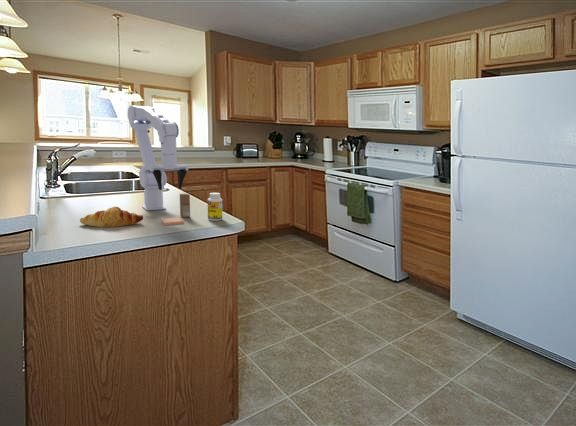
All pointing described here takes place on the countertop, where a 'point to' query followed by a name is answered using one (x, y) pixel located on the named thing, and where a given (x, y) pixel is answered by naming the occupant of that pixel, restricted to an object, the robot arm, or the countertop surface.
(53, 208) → the countertop surface
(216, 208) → the supplement bottle
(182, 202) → the wooden rectangular block
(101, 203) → the countertop surface
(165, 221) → the tile
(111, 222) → the croissant
